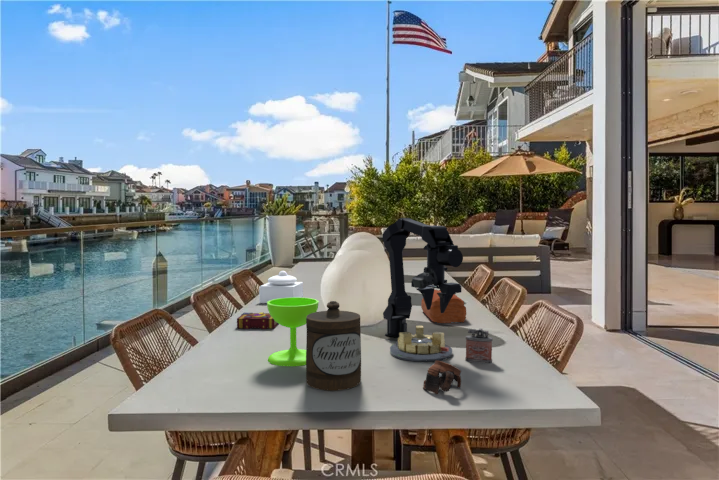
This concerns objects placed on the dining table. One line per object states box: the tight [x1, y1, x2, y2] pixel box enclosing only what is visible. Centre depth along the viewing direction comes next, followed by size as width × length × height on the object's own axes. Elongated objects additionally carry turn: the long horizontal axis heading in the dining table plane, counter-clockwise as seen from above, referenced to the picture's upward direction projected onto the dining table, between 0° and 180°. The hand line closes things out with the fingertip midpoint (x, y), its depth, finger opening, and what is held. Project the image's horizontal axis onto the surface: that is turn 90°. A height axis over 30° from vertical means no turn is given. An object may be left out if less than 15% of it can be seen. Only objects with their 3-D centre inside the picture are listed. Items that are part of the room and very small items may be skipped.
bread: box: [420, 289, 467, 324], centre depth 225 cm, size 16×27×11 cm, turn 3°
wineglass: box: [266, 297, 320, 368], centre depth 161 cm, size 16×16×18 cm
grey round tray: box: [389, 338, 453, 363], centre depth 168 cm, size 20×20×4 cm
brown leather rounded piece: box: [422, 360, 462, 395], centre depth 134 cm, size 12×10×8 cm
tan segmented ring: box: [397, 325, 449, 354], centre depth 167 cm, size 17×15×6 cm
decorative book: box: [235, 311, 280, 330], centre depth 208 cm, size 11×16×5 cm
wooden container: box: [305, 300, 362, 392], centre depth 140 cm, size 15×15×22 cm
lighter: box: [464, 328, 493, 364], centre depth 159 cm, size 8×3×10 cm, turn 71°
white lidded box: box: [258, 270, 304, 304], centre depth 265 cm, size 18×18×16 cm
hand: (435, 311), depth 171 cm, fingers open, 6 cm apart
